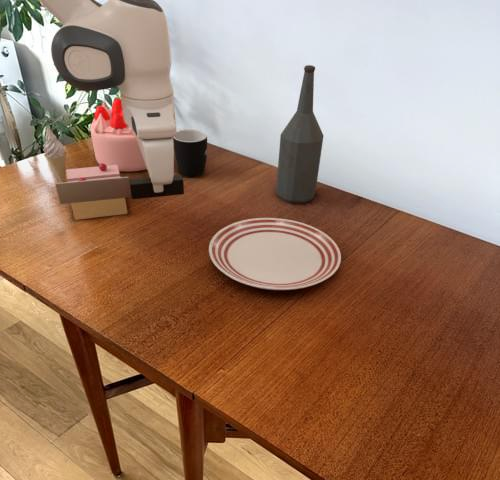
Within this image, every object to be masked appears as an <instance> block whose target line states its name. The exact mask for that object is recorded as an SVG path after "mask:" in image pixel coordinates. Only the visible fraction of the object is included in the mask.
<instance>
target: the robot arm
mask: <svg viewBox="0 0 500 480" xmlns="http://www.w3.org/2000/svg"><path fill="white" fill-rule="evenodd" d="M38 1H39V2H40V4H41V5H43V6H44V7H45V9H47V10H48V12H50V14H51V15H53V17H54V18H55V19H56V20H57V21H59V23H60V24H61V25H62V26H61V27H60V28H59V29H58V30H57V31H56V33H55V34H54V36H53V38H52V41H51V46H50V53H51V59H52V61H53V62H52V63H53V65H54V67H55V70H56V71H57V73H58V74H59V76H60V77H61V78H62V79H63V80H64V81H65V82H66V83H67V84H68V85H69V86H71V87H72V88H75V89H76V90H79V91H83V92H97V91H102V90H108V89H113V88H118V89H119V93H120V95H119V96H120V99H121V102H122V110H123V117H124V122H125V123H126V124H127V125H128V126H130V128H131V129H132V130H133V132H134V133H135V134H136V136H137V141H138V145H139V147H140V150H141V153H142V156H143V159H144V162H145V164H146V167H147V169H146V171H147V173H148V175H149V176H148V177H150V178H151V182H152V185H153V190H154V192H156V193H157V192H162V191H163V185H165V184H171V183H172V181H173V177H174V175H175V152H174V142H173V137H175V136H176V135H177V131H178V130H177V123H176V109H175V96H174V95H175V94H174V87H173V83H172V81H171V68H172V50H171V40H170V33H169V26H168V21H167V18H166V14H165V12H164V10H163V8H162V7H161V6H160V4H159V3H158V2H156V1H155V0H107V1H106V2H105V3H104V4H102V3H100V2H98V1H96V0H38Z"/></svg>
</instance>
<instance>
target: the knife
mask: <svg viewBox="0 0 500 480" xmlns="http://www.w3.org/2000/svg"><path fill="white" fill-rule="evenodd" d="M54 185H55V188H56V193H57V196H58V201H59V204H60V205H65V204H71V203H78V202H88V201H97V200H107V199H117V198H125V199H126V198H127V199H128V198H131V199H132V200H140V199H141V200H142V199H151V198H160V197H170V196H180V195H185V186H184V185H185V184H184V178H183V175H182V174H174V177H173V181H172V183H171V184H165V185H163V191H162V192H157V193H156V192H154V190H153V185H152V182H151V178H150V177H149V176H148V177H137V178H130V176H120V177H118V178H107V179H96V180H85V181H74V182H68V181H64V182H63V183H61V182H55V183H54Z"/></svg>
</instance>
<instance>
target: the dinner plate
mask: <svg viewBox="0 0 500 480" xmlns="http://www.w3.org/2000/svg"><path fill="white" fill-rule="evenodd" d="M208 255H209V258H210V260H211V262H212V263H213V265H214V266H215V267H216V268H217V269H218V270H219V271H220V272H221V273H223V274H224V275H225V276H227V277H228V278H230V279H231V280H234V281H235V282H238V283H240V284H244V285H246V286H248V287H252V288H256V289H263V290H270V291H292V290H299V289H300V290H301V289H304V288H308V287H313V286H315V285H318V284H319V283H322V282H324V281H326V280H327V279H329V278H331V277H332V276H333V275H334V274H336V272H337V270H338V269H339V267H340V265H341V262H342V254H341V250H340V248H339V247H338V245H337V243H336V242H335V240H333V239H332V237H331V236H329V235H328V234H327V233H325V232H324V231H322V230H320V229H318V228H316V227H314V226H312V225H309V224H306V223H304V222H300V221H297V220H292V219H287V218H285V219H284V218H280V217H279V218H277V217H256V218H249V219H242V220H240V221H236V222H233V223H231V224H229V225H227V226H225V227H223V228H220V230H218V231H217V232H216V233H215V234H214V235H213V236H212V238H211V240H210V241H209V245H208Z"/></svg>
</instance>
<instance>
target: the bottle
mask: <svg viewBox="0 0 500 480" xmlns="http://www.w3.org/2000/svg"><path fill="white" fill-rule="evenodd" d="M315 70H316V67H315V66H314V65H310V64H308V65H305V66H303V71H304V72H303V77H302V83H301V87H300V93H299V97H298V102H297V108H296V111H295V113H294V114H293V115H292V117H291V118H290V120H289V122H288V123H287V124H286V125H285V128H283V130H282V132H281V133H280V135H279V136H280V137H279V138H280V139H279V150H278V151H279V152H278V163H277V175H276V188H275V193H276V194H277V197H278V198H279V199H281V200H282V201H284V202H285V203H288V204H289V203H290V204H305V203H308V202H311V201H312V200H313V199H314V197H315V195H316V192H317V185H318V179H319V170H320V163H321V158H322V157H321V156H322V149H323V143H324V134H323V131H322V128H321V126H320V124H319V122H318V120H317V117H316V115H315V113H314V91H315V90H314V88H315V87H314V86H315Z"/></svg>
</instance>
